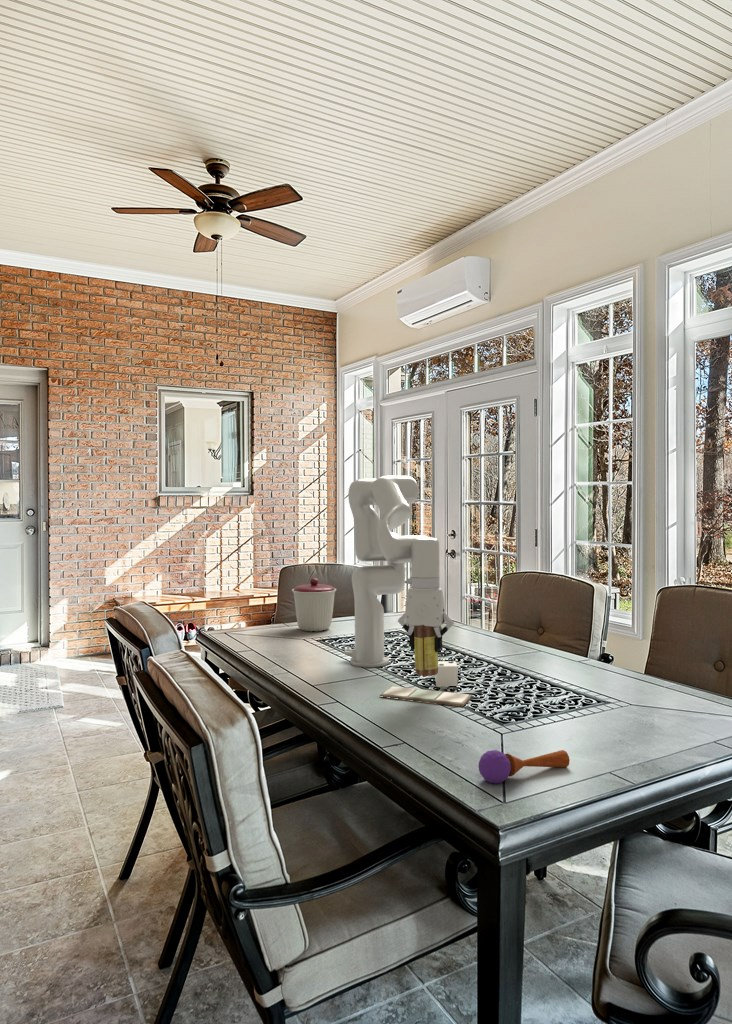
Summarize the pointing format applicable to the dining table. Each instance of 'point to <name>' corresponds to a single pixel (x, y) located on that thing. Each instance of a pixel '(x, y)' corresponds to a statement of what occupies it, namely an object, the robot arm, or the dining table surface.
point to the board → (427, 696)
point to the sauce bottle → (425, 651)
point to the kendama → (516, 764)
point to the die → (447, 674)
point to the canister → (314, 605)
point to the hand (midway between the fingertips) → (425, 649)
